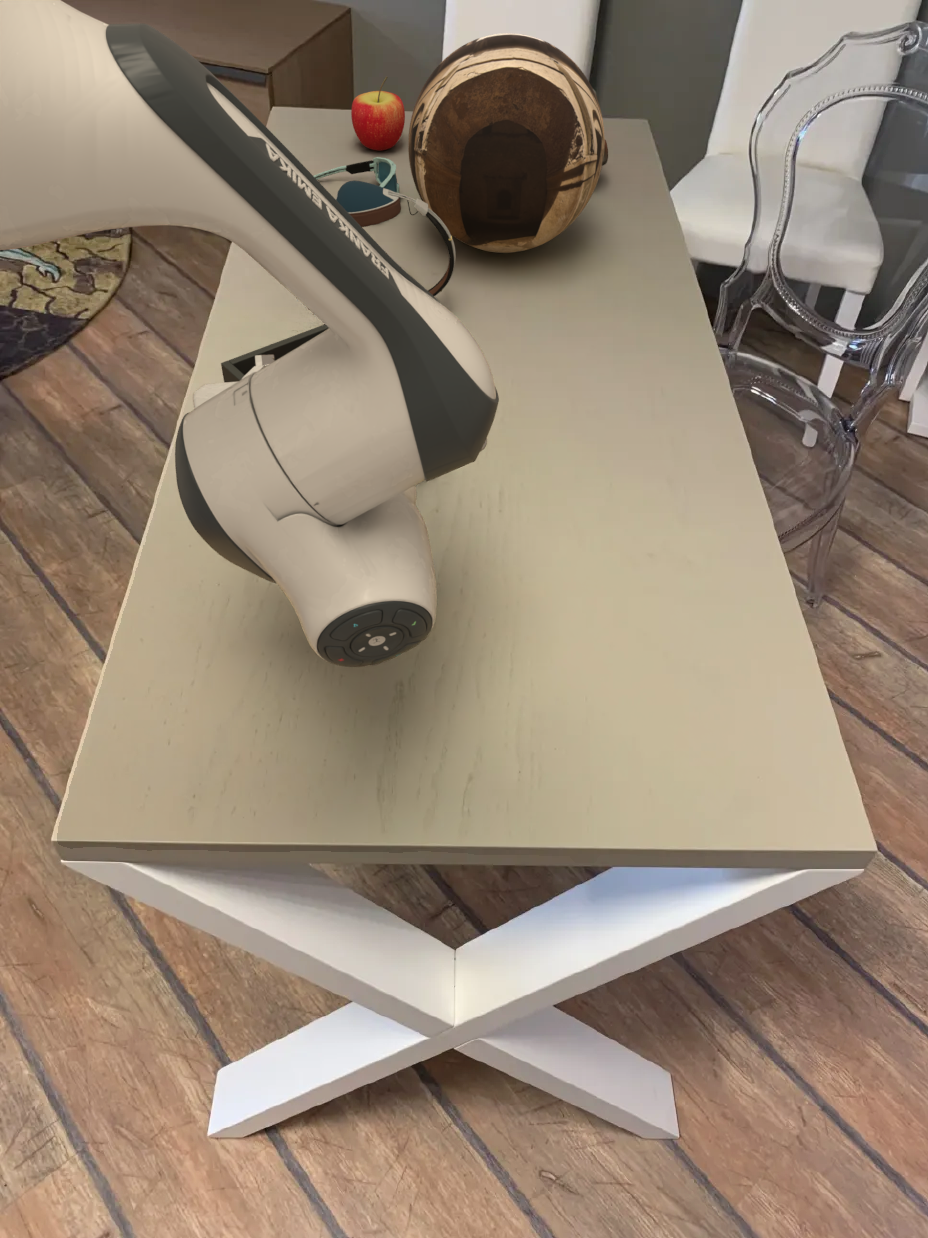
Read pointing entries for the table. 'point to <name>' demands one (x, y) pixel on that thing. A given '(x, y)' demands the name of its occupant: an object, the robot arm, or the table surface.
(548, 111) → the sphere
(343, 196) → the headphones
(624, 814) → the table surface
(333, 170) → the sunglasses
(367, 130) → the apple
